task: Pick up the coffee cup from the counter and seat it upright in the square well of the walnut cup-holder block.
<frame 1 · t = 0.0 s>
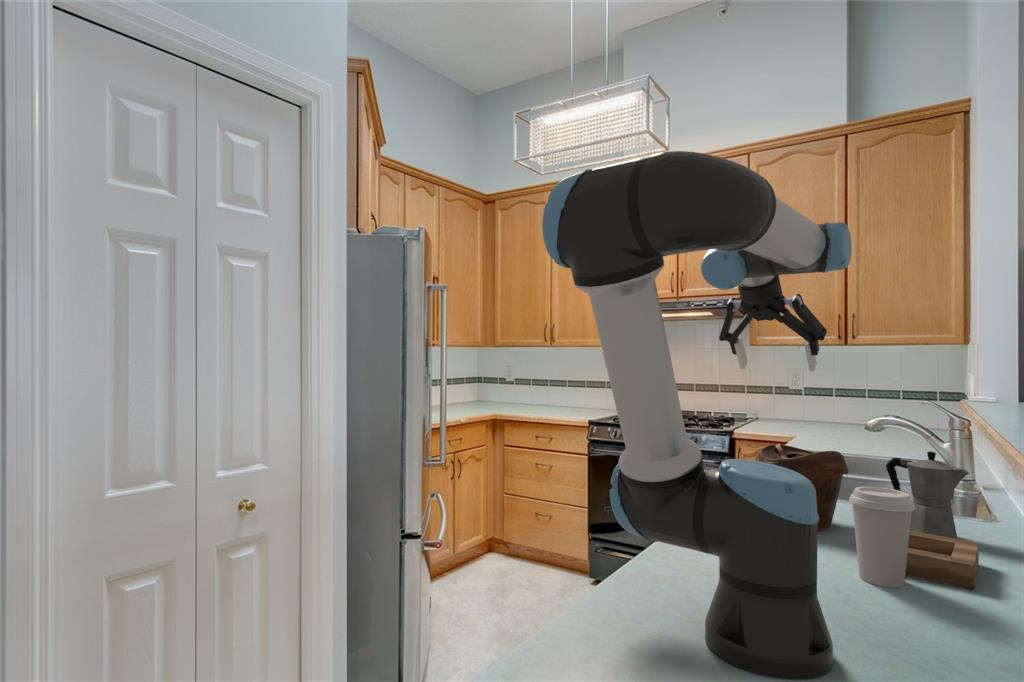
hand: (777, 366, 120), 36 cm above the counter, tool tilted 35°, fingers open, 13 cm apart
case: (798, 523, 133), on the counter
holder: (920, 565, 106), on the counter
coffee cup: (881, 581, 99), on the counter
coffeepot: (925, 535, 125), on the counter
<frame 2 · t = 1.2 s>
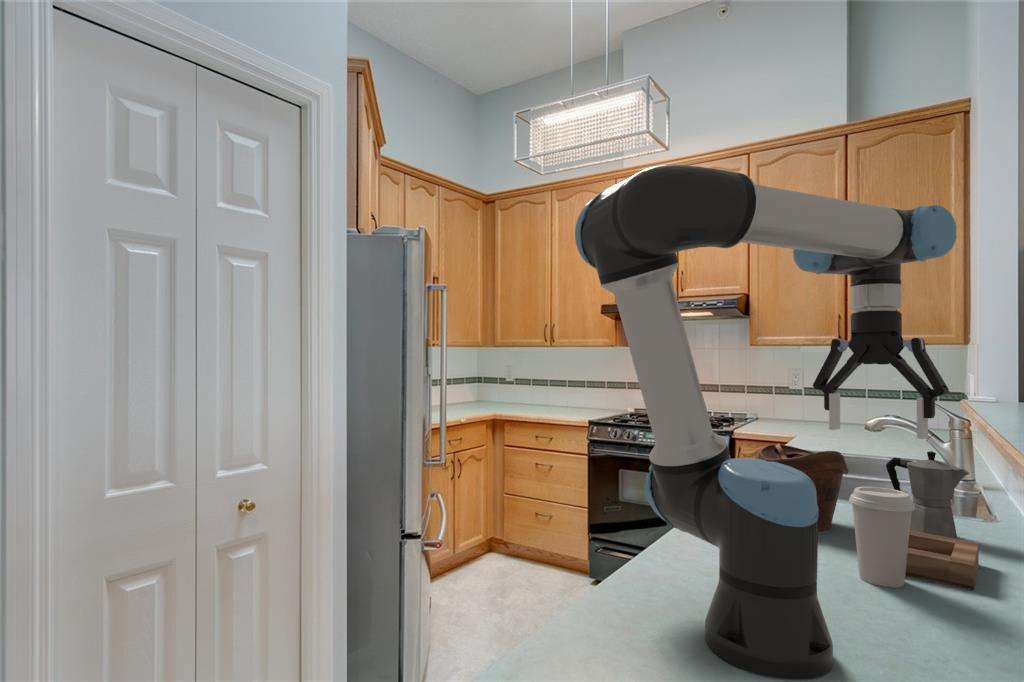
hand: (876, 433, 100), 25 cm above the counter, tool pointing down, fingers open, 13 cm apart
nothing on the counter moved.
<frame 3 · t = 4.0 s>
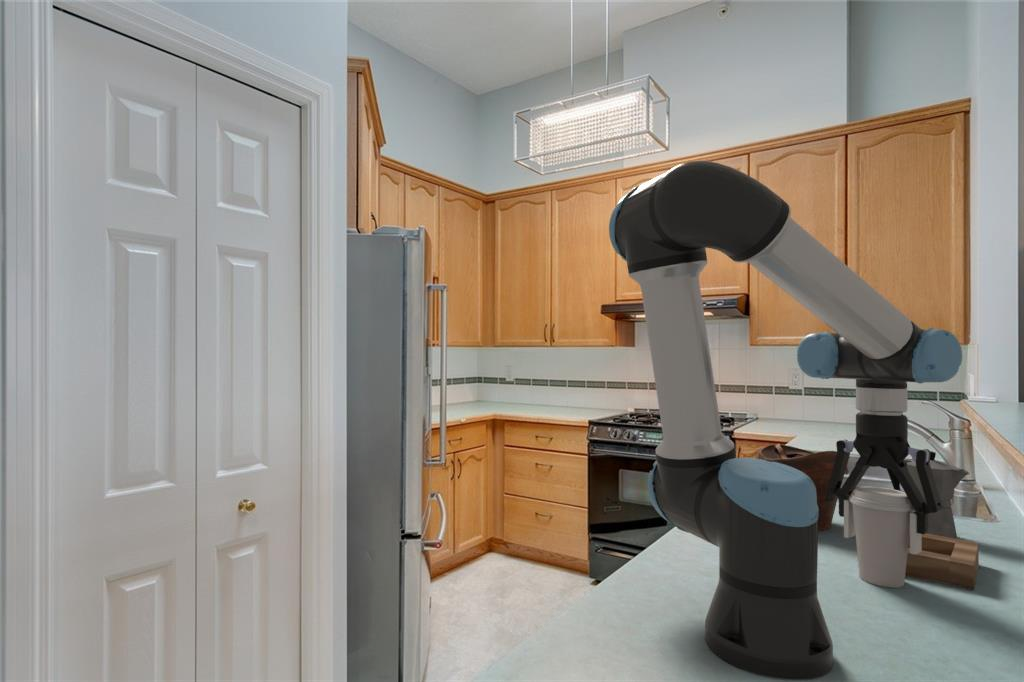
hand: (881, 543, 99), 6 cm above the counter, tool pointing down, fingers closed on coffee cup, 9 cm apart
coffee cup: (881, 581, 99), on the counter, touching gripper
everything else where it was.
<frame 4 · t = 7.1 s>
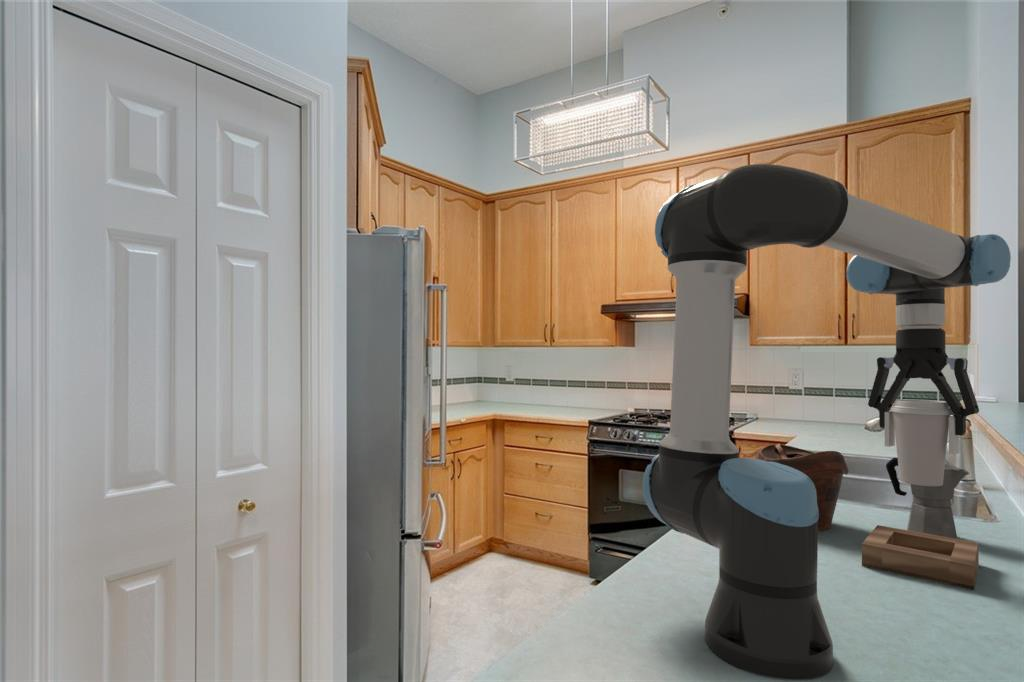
hand: (920, 449, 107), 21 cm above the counter, tool pointing down, fingers closed on coffee cup, 9 cm apart
coffee cup: (921, 483, 107), point 15 cm above the counter, touching gripper
everything else where it was.
when the fingers open (7 cm above the counter, at t = 10.1 s): coffee cup stays where it is, resting on holder.
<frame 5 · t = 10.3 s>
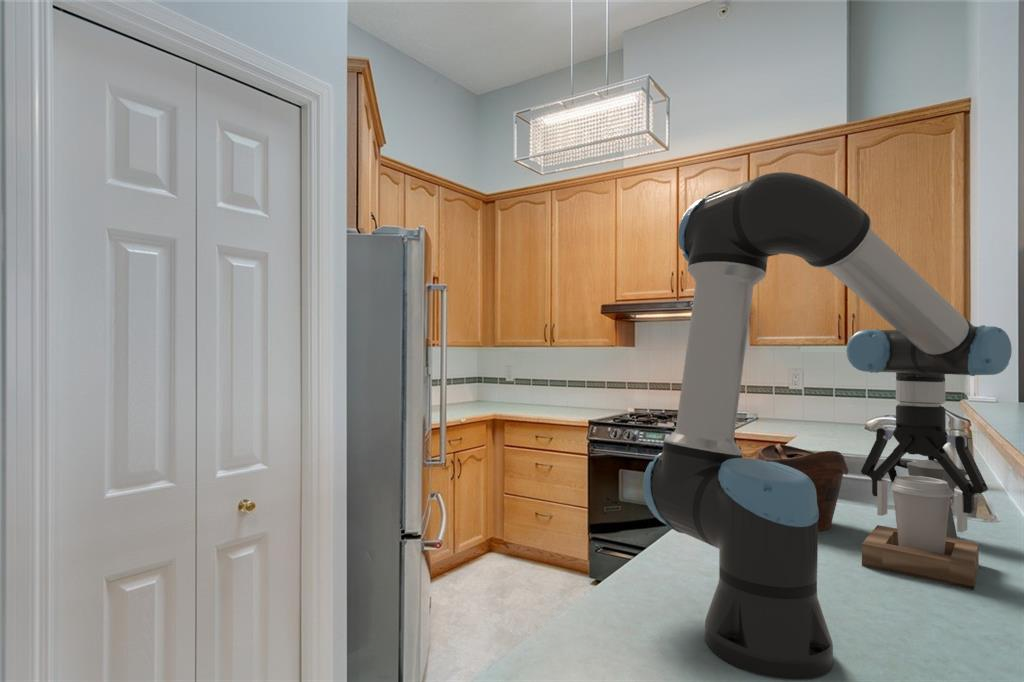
hand: (920, 522, 106), 8 cm above the counter, tool pointing down, fingers open, 12 cm apart
coffee cup: (921, 563, 106), resting on holder
everything else where it was.
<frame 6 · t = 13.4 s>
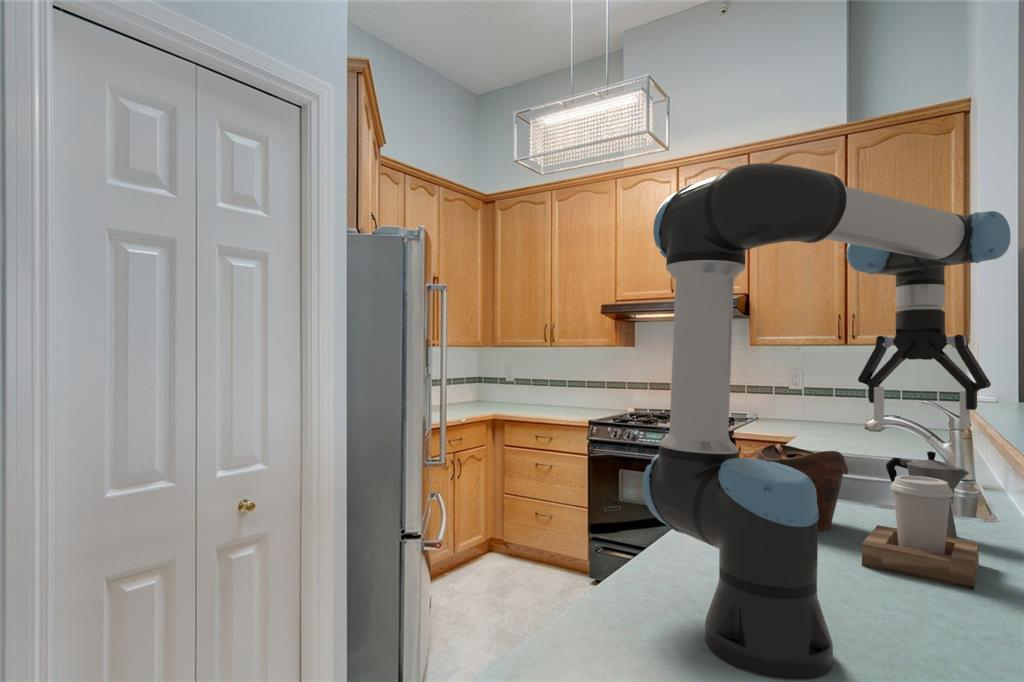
hand: (919, 424, 107), 26 cm above the counter, tool pointing down, fingers open, 13 cm apart
nothing on the counter moved.
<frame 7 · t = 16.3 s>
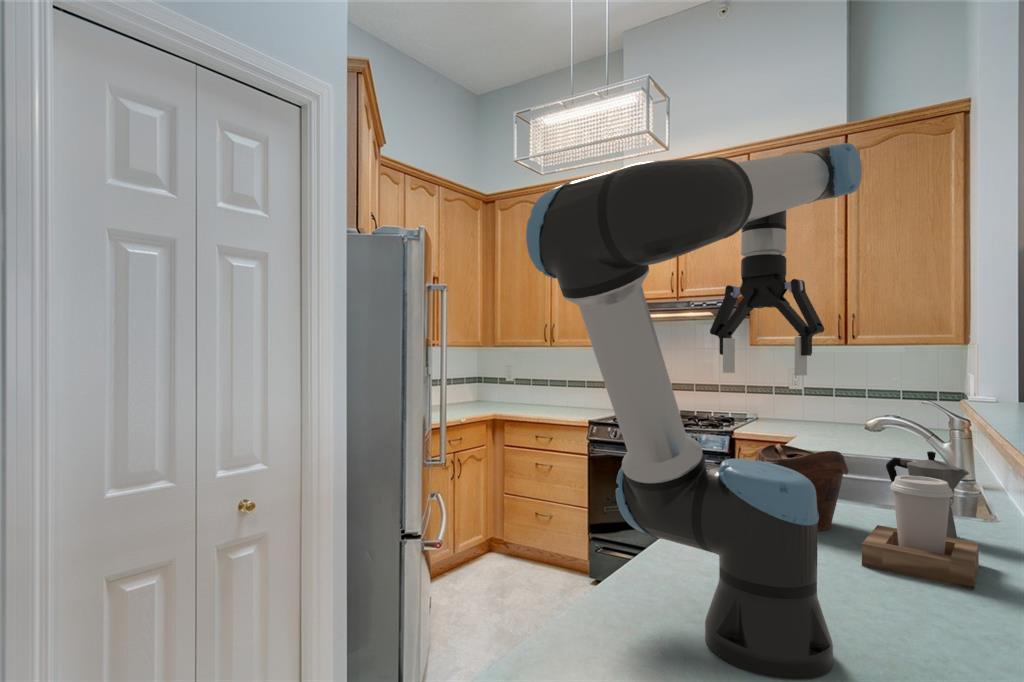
hand: (762, 374, 104), 35 cm above the counter, tool pointing down, fingers open, 13 cm apart
nothing on the counter moved.
at the end: coffee cup 0.1 cm from the holder (horizontally); coffee cup tilted 0°; coffee cup resting on holder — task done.
